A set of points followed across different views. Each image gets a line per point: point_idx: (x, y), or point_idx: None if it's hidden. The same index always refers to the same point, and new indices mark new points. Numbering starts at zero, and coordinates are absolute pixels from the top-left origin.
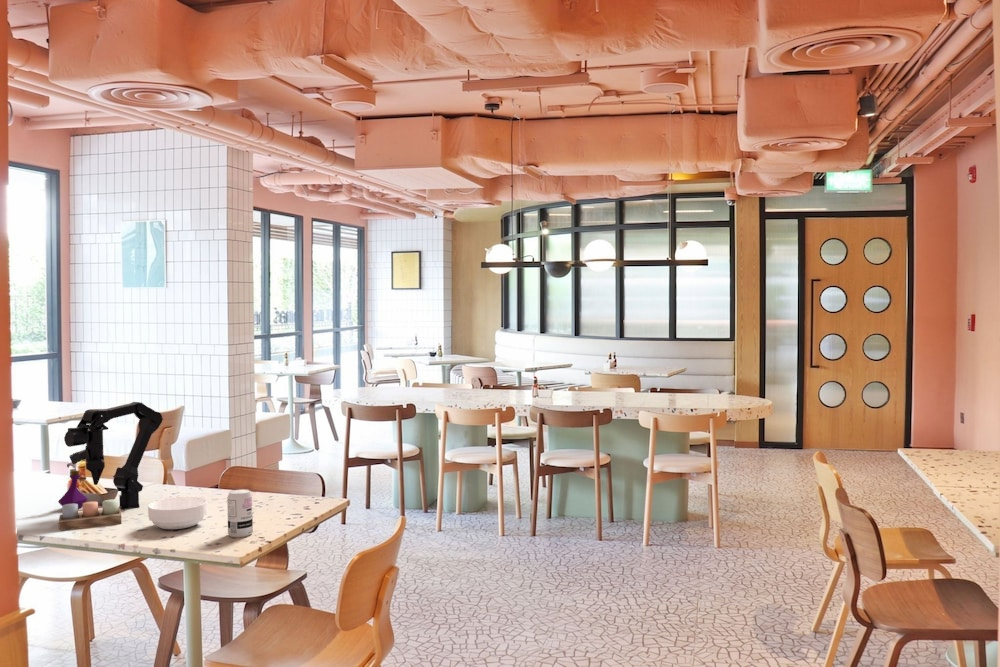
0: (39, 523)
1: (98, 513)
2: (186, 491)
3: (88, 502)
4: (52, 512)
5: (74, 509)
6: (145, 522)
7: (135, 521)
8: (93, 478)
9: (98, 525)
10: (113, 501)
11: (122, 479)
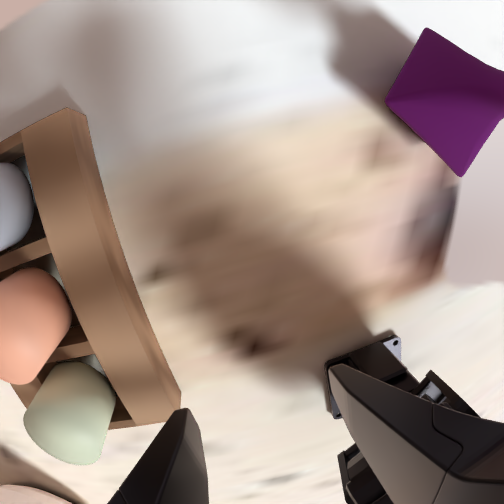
0: (110, 15)
1: (90, 335)
2: None
3: (10, 329)
4: (356, 18)
5: None
6: (79, 467)
7: None
8: (135, 478)
9: None
10: (52, 451)
11: (379, 492)
